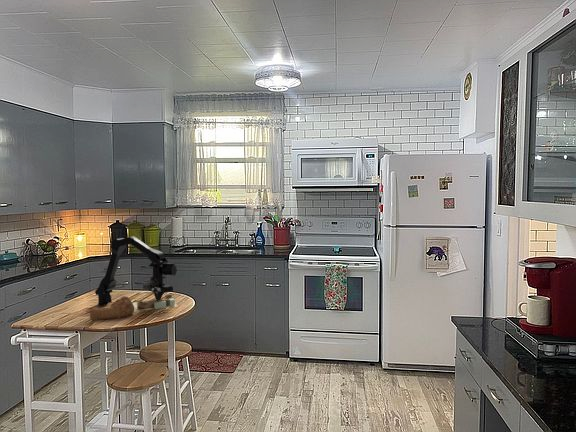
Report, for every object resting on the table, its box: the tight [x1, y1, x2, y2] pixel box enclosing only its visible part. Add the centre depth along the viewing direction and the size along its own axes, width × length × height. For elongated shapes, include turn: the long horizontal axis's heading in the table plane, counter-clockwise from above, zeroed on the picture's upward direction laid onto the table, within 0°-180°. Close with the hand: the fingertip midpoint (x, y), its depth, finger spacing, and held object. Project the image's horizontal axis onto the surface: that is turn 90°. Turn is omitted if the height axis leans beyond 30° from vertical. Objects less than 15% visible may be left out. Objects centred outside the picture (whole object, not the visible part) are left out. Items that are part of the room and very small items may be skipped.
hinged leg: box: [136, 298, 169, 309], centre depth 258 cm, size 16×4×4 cm, turn 118°
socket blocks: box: [154, 297, 176, 310], centre depth 259 cm, size 11×7×3 cm, turn 114°
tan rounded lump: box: [89, 296, 135, 322], centre depth 240 cm, size 19×11×15 cm
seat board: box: [132, 293, 179, 312], centre depth 264 cm, size 23×21×4 cm
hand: (158, 302), depth 262 cm, fingers closed
